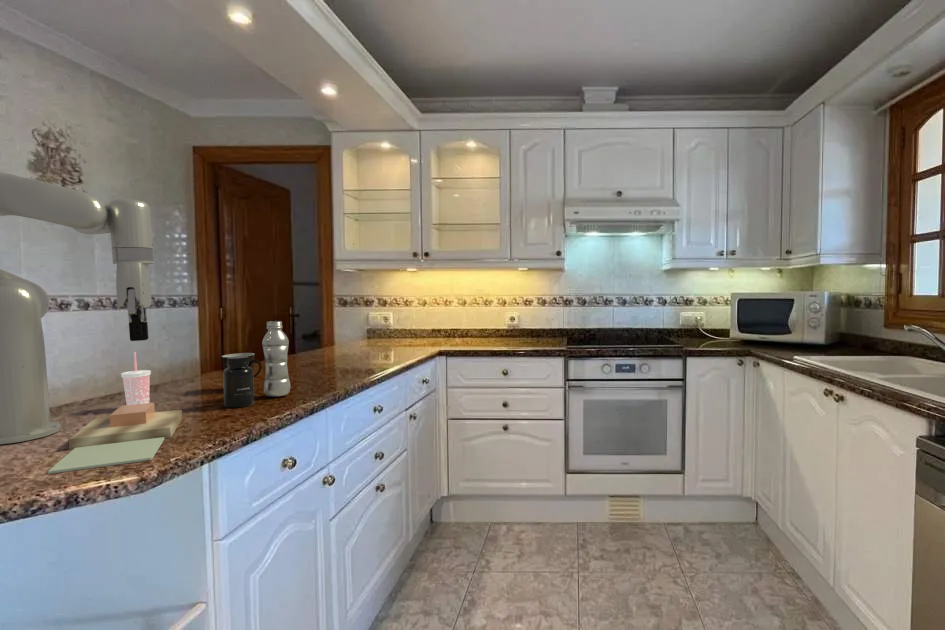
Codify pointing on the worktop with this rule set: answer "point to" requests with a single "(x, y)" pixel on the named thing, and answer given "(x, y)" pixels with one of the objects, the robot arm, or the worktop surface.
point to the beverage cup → (136, 385)
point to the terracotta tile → (132, 414)
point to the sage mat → (108, 455)
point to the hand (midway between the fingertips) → (139, 340)
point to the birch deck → (126, 430)
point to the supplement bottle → (238, 383)
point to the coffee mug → (249, 355)
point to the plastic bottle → (276, 360)
